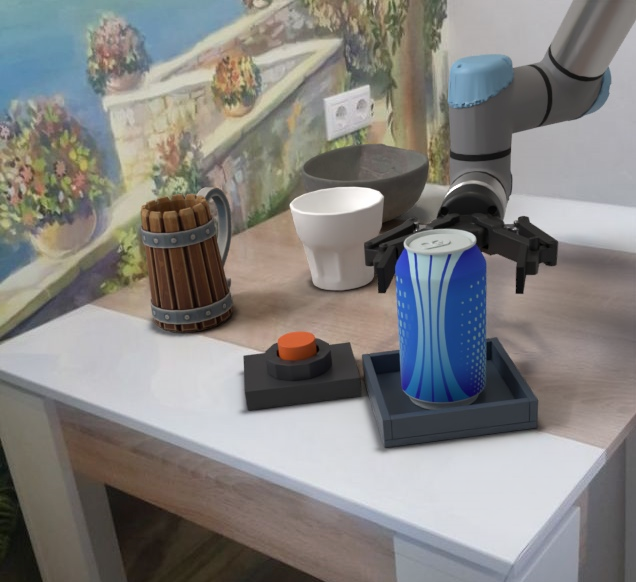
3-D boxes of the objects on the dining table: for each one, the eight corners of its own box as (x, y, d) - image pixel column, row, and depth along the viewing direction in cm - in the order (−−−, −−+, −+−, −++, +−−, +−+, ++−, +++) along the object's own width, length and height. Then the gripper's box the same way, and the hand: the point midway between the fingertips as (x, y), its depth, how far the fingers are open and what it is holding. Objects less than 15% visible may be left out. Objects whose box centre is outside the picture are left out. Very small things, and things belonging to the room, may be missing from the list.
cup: (367, 257, 128) (362, 181, 122) (403, 284, 118) (399, 201, 112) (286, 275, 125) (277, 197, 119) (316, 303, 115) (307, 220, 109)
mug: (203, 338, 108) (182, 218, 101) (137, 328, 113) (112, 213, 106) (269, 292, 120) (255, 181, 112) (207, 285, 125) (188, 178, 117)
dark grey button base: (351, 359, 99) (348, 327, 97) (361, 396, 92) (359, 361, 90) (246, 372, 99) (240, 340, 97) (247, 410, 91) (242, 376, 89)
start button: (315, 343, 95) (313, 329, 94) (318, 359, 92) (316, 344, 91) (278, 348, 95) (276, 333, 94) (280, 364, 92) (278, 349, 91)
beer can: (413, 373, 93) (406, 225, 85) (492, 378, 91) (493, 226, 82) (392, 411, 87) (383, 254, 78) (477, 418, 84) (477, 256, 76)
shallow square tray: (496, 362, 95) (497, 336, 94) (537, 428, 83) (538, 400, 81) (363, 379, 95) (361, 354, 94) (384, 447, 83) (382, 420, 81)
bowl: (286, 239, 139) (278, 175, 134) (334, 201, 155) (329, 142, 149) (408, 244, 131) (405, 176, 126) (445, 203, 147) (444, 142, 142)
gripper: (580, 244, 102) (578, 317, 85) (370, 246, 109) (329, 314, 92) (584, 179, 99) (583, 242, 81) (366, 185, 105) (322, 244, 88)
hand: (448, 280), depth 86 cm, fingers open, 13 cm apart
